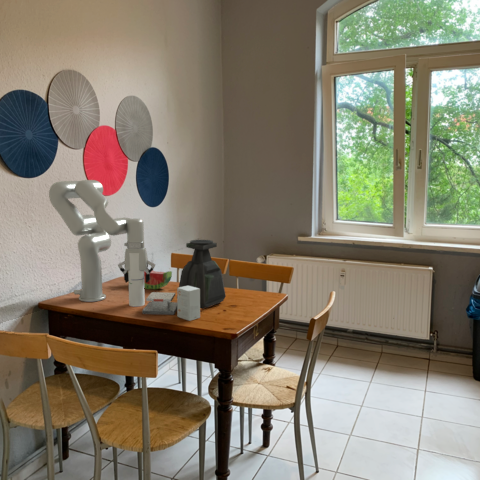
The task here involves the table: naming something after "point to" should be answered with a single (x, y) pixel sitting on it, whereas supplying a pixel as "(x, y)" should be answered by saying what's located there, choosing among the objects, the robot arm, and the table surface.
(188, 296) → the small box
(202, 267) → the bottle
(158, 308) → the stand
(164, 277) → the fruit slice
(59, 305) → the table surface
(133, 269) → the cylindrical container
